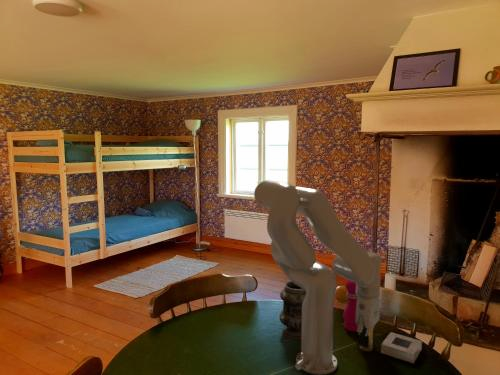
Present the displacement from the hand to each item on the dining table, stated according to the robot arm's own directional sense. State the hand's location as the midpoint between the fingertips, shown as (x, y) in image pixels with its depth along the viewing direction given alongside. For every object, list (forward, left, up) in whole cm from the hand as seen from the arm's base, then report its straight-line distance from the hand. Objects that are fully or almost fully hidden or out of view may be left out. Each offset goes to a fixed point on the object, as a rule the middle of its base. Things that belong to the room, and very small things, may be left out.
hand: (366, 342), depth 124 cm
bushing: (0, 0, -2) cm, 2 cm away
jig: (+5, -10, -2) cm, 11 cm away
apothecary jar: (-5, +24, -2) cm, 25 cm away
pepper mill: (+11, +9, -2) cm, 14 cm away
